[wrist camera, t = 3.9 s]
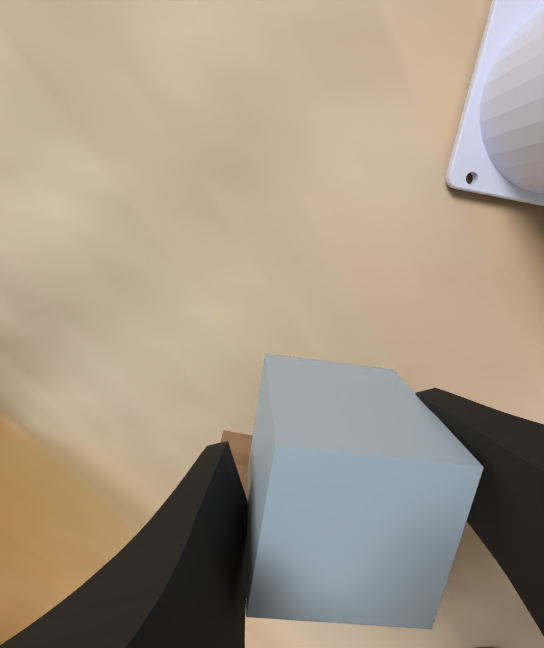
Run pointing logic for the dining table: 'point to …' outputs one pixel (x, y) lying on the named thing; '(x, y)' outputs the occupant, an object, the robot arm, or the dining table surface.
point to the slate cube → (351, 497)
